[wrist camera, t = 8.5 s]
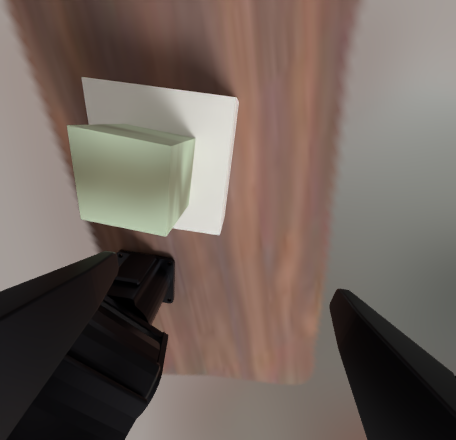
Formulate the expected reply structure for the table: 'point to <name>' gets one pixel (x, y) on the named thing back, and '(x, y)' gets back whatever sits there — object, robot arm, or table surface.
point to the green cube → (131, 175)
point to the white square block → (182, 125)
